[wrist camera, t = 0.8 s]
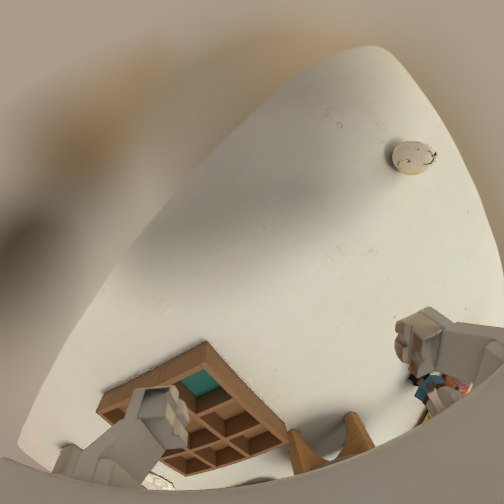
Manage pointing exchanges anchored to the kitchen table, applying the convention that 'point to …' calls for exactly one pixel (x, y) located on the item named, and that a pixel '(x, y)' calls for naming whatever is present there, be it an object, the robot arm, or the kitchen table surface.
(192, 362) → the compartment tray
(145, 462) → the robot arm
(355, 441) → the planter
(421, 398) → the toy
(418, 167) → the egg
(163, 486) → the cream curved tapered piece
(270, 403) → the kitchen table surface
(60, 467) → the grey skyscraper model
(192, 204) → the kitchen table surface
